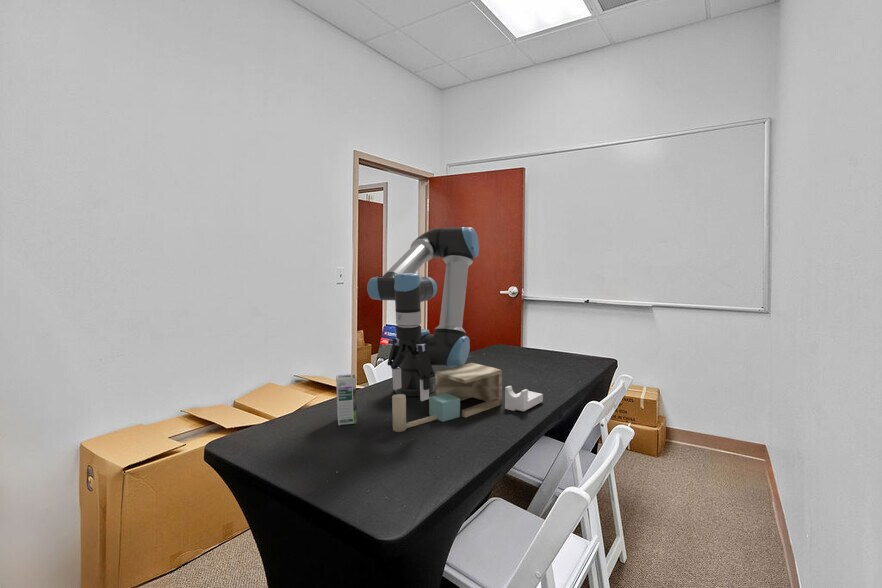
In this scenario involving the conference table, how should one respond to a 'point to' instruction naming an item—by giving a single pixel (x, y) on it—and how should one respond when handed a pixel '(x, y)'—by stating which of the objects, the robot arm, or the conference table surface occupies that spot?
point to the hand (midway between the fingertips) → (410, 394)
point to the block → (439, 409)
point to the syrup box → (346, 399)
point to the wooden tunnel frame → (471, 385)
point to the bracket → (521, 399)
